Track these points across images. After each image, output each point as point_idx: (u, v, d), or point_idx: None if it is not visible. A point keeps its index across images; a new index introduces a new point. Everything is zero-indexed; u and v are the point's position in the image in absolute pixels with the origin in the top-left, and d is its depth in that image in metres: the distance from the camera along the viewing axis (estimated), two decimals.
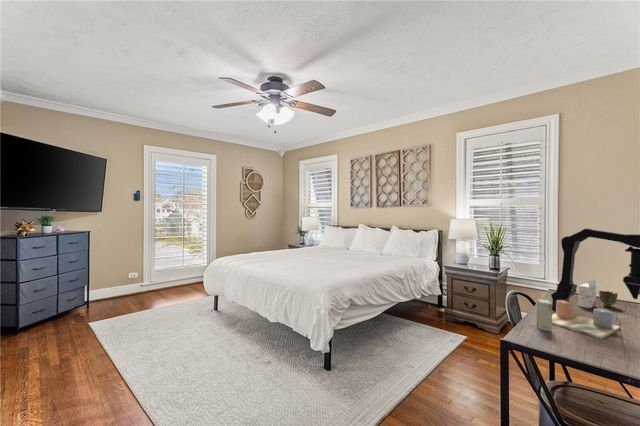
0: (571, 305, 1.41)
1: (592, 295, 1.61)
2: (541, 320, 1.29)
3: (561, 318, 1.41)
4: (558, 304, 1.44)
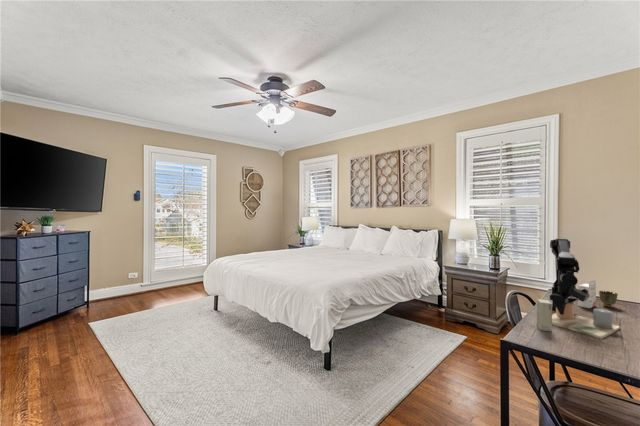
0: (571, 305, 1.41)
1: (592, 295, 1.61)
2: (541, 320, 1.29)
3: (561, 318, 1.41)
4: None
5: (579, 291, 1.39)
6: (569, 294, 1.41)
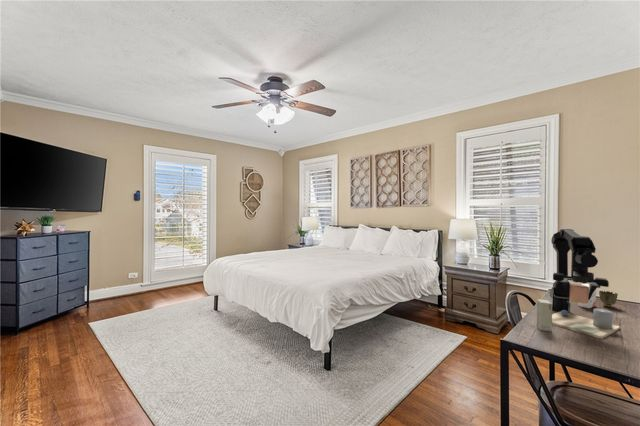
0: (575, 287, 1.32)
1: (592, 295, 1.61)
2: (541, 320, 1.29)
3: (561, 318, 1.41)
4: None
5: (580, 273, 1.29)
6: (571, 275, 1.33)
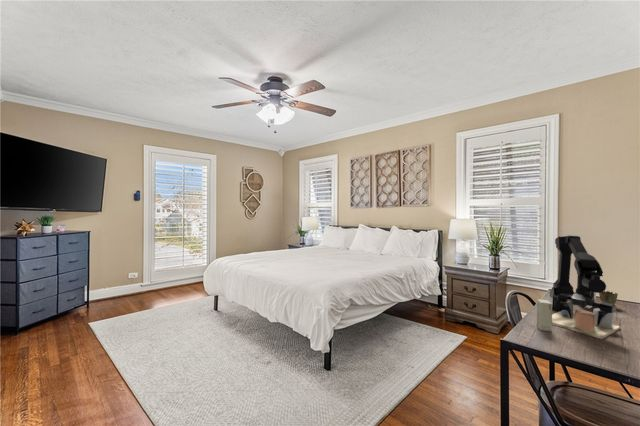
0: (578, 314, 1.29)
1: None
2: (541, 320, 1.29)
3: (561, 318, 1.41)
4: None
5: (580, 295, 1.26)
6: None
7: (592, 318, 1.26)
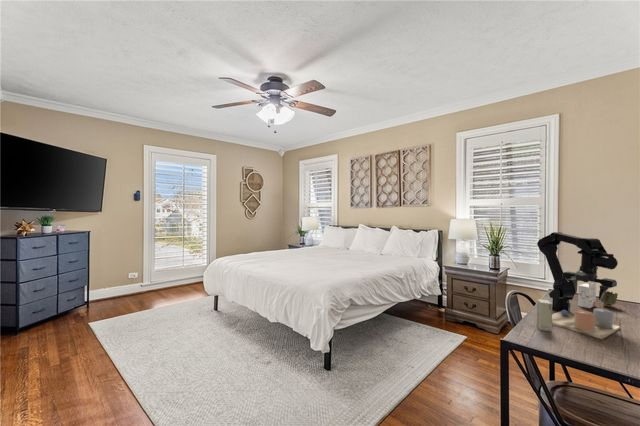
0: (578, 314, 1.29)
1: (592, 295, 1.61)
2: (541, 320, 1.29)
3: (561, 318, 1.41)
4: None
5: (583, 272, 1.38)
6: None
7: (592, 318, 1.26)
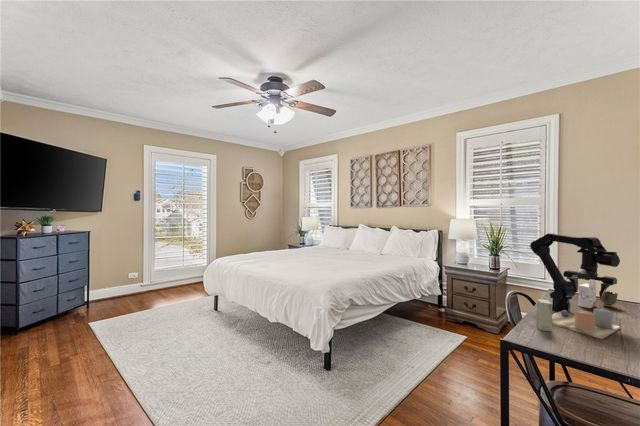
0: (578, 314, 1.29)
1: (592, 295, 1.61)
2: (541, 320, 1.29)
3: (561, 318, 1.41)
4: None
5: (584, 270, 1.41)
6: None
7: (592, 318, 1.26)
